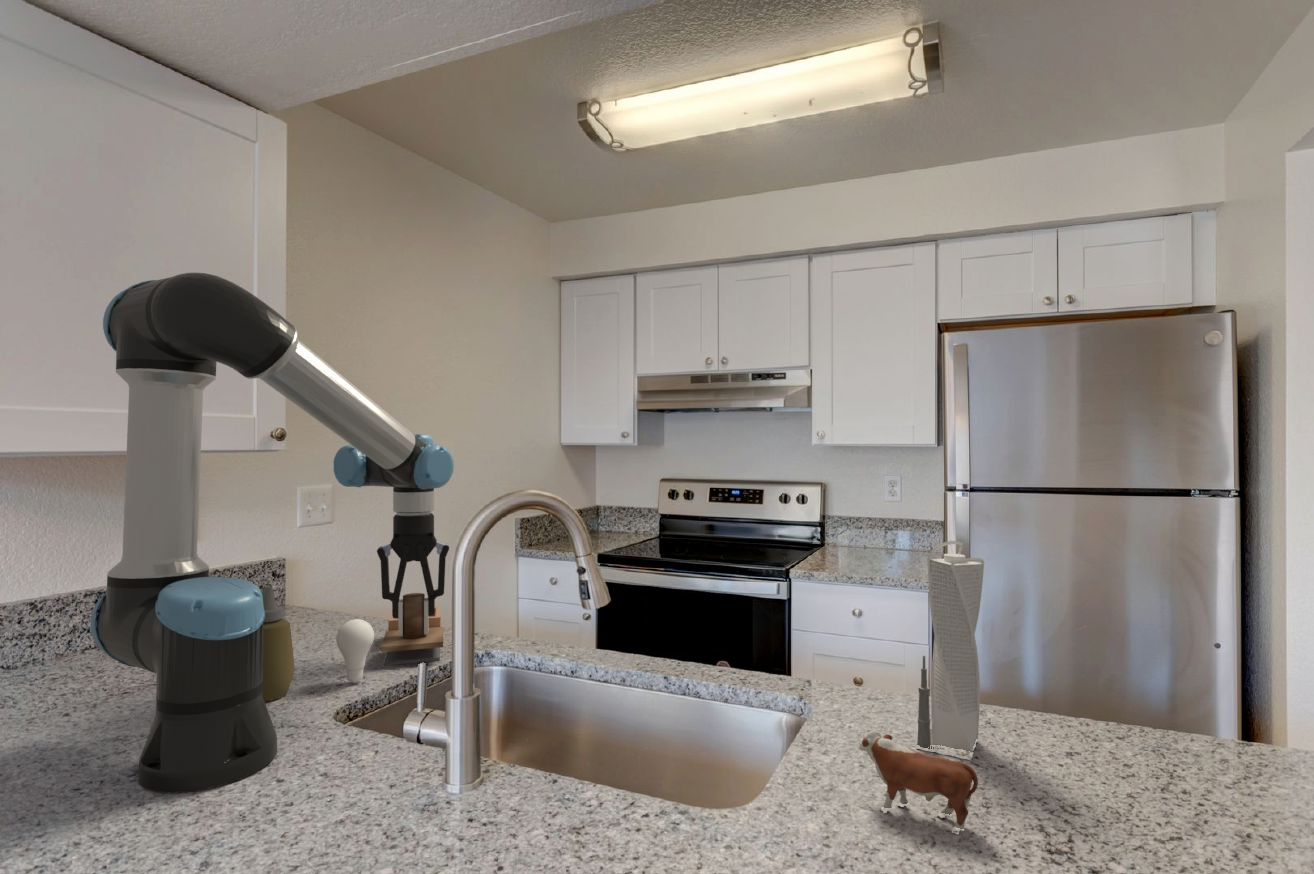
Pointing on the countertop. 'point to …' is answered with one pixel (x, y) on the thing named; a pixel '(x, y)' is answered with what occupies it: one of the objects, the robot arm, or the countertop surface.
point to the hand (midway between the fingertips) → (413, 633)
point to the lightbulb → (355, 646)
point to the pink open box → (433, 620)
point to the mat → (412, 656)
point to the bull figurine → (920, 774)
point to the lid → (413, 628)
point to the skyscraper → (952, 653)
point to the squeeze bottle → (276, 649)
